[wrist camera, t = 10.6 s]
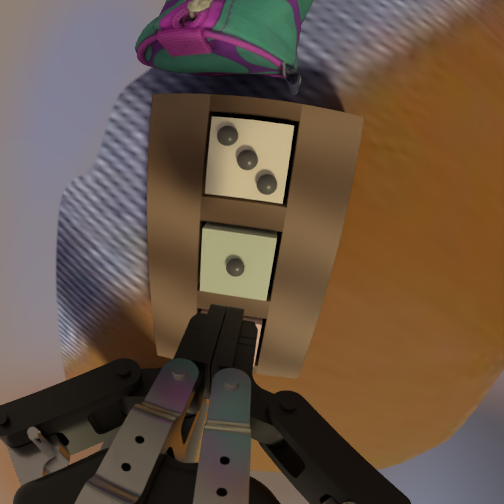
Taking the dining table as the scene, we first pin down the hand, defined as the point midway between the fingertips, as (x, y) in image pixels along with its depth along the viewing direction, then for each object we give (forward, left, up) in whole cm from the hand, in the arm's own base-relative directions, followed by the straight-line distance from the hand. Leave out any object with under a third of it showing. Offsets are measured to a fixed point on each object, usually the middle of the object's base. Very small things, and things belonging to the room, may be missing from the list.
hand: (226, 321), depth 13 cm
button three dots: (-6, 0, -8) cm, 10 cm away
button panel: (0, 0, -10) cm, 10 cm away
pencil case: (-21, -1, -10) cm, 24 cm away
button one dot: (0, 0, -8) cm, 8 cm away
